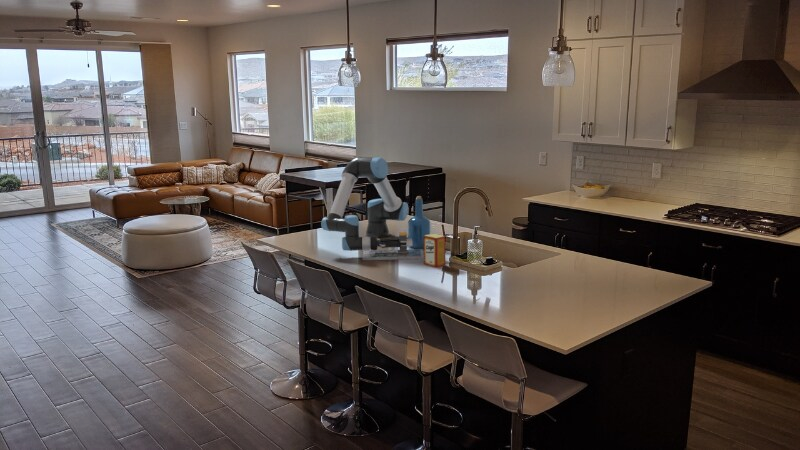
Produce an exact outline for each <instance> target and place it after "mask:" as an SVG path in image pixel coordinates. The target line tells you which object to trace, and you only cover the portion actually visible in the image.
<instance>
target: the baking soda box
mask: <svg viewBox="0 0 800 450" xmlns="http://www.w3.org/2000/svg"><path fill="white" fill-rule="evenodd" d="M423 265H424V266H429V267H433V268H441V267H445V266H446V236H445V235H442V234H441V235H440V234H436V233H431V234H428V235H424V248H423Z"/></svg>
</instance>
